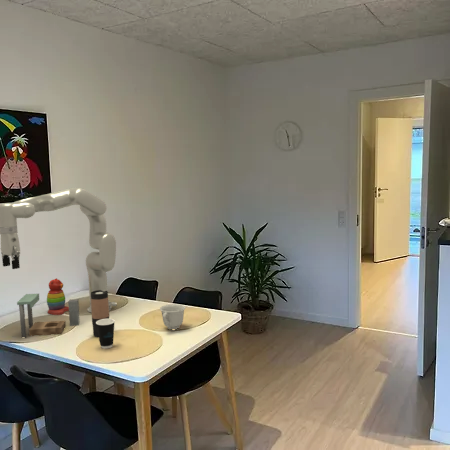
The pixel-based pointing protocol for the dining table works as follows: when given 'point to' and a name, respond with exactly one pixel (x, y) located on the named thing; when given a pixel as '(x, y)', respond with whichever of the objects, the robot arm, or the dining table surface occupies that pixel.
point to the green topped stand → (30, 301)
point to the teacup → (172, 315)
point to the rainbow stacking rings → (56, 298)
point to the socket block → (47, 328)
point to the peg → (74, 312)
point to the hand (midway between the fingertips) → (11, 267)
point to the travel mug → (99, 308)
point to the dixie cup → (106, 332)
